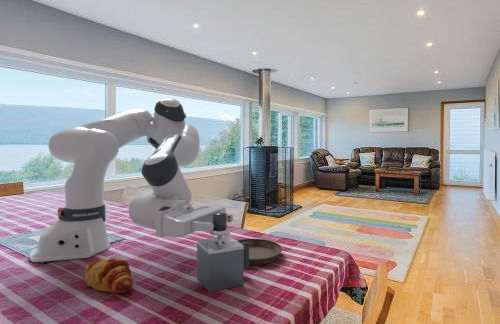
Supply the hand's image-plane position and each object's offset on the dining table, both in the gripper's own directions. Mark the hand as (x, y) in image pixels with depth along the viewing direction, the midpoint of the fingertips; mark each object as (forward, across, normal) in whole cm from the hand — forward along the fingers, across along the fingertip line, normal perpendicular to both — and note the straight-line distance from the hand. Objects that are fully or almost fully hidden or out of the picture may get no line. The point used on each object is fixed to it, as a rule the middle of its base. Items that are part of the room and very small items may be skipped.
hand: (222, 222), depth 80 cm
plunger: (-1, 0, -13) cm, 13 cm away
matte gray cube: (0, -1, -15) cm, 15 cm away
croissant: (-25, +13, -16) cm, 32 cm away
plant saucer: (-1, -20, -16) cm, 26 cm away
